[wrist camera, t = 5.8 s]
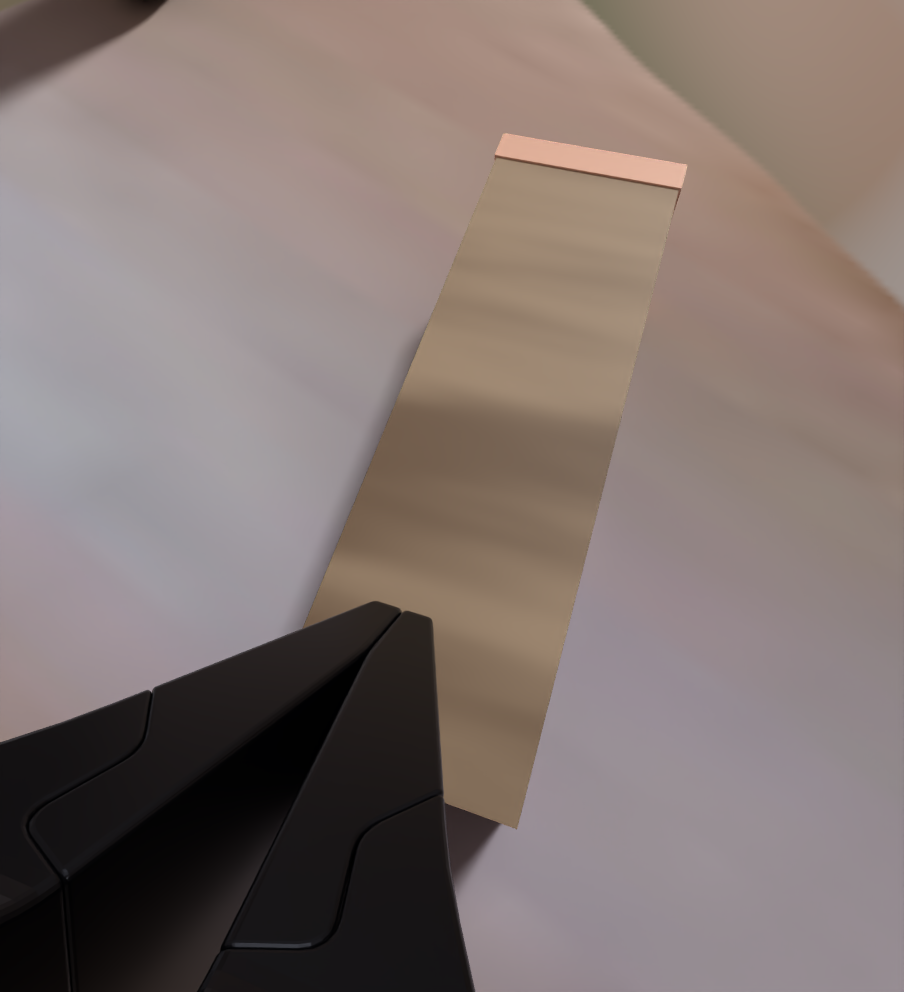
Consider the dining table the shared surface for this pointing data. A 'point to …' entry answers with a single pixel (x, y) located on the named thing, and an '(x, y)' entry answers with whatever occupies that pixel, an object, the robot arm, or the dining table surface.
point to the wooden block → (509, 446)
